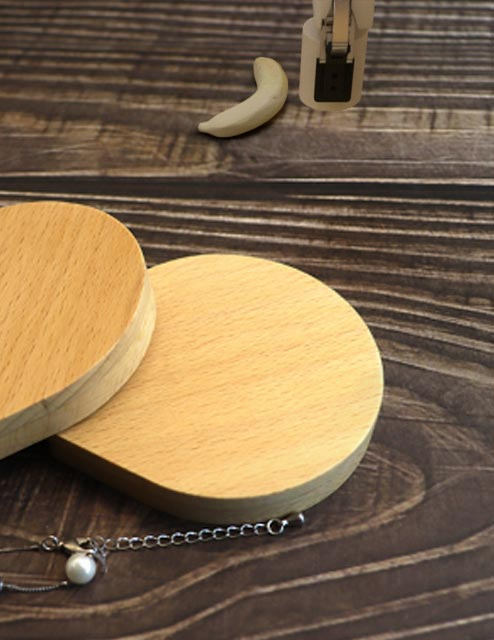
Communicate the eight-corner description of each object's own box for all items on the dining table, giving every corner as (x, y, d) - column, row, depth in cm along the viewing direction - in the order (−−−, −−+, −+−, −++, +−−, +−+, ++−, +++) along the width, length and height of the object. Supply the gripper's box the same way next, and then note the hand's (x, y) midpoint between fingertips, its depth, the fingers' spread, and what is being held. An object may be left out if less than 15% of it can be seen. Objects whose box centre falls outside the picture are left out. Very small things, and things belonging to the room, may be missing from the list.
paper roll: (329, 72, 95) (334, 5, 91) (374, 95, 92) (382, 26, 87) (286, 95, 93) (289, 27, 88) (330, 118, 90) (336, 49, 85)
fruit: (309, 85, 123) (311, 60, 120) (252, 148, 114) (252, 122, 112) (256, 73, 126) (256, 48, 123) (196, 134, 117) (195, 108, 115)
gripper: (405, -85, 72) (378, 134, 85) (391, -169, 84) (369, 35, 97) (299, -82, 73) (288, 134, 86) (299, -166, 85) (290, 35, 98)
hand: (331, 79), depth 92 cm, fingers closed on paper roll, 5 cm apart
